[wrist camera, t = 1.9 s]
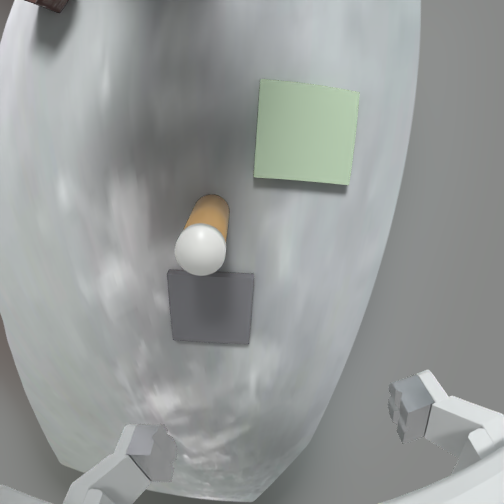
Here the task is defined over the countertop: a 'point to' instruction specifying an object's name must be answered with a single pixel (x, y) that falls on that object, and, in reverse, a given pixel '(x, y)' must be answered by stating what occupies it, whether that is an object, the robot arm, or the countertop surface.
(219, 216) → the pill bottle
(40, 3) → the box
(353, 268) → the countertop surface
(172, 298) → the tile
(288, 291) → the countertop surface
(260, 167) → the tile
